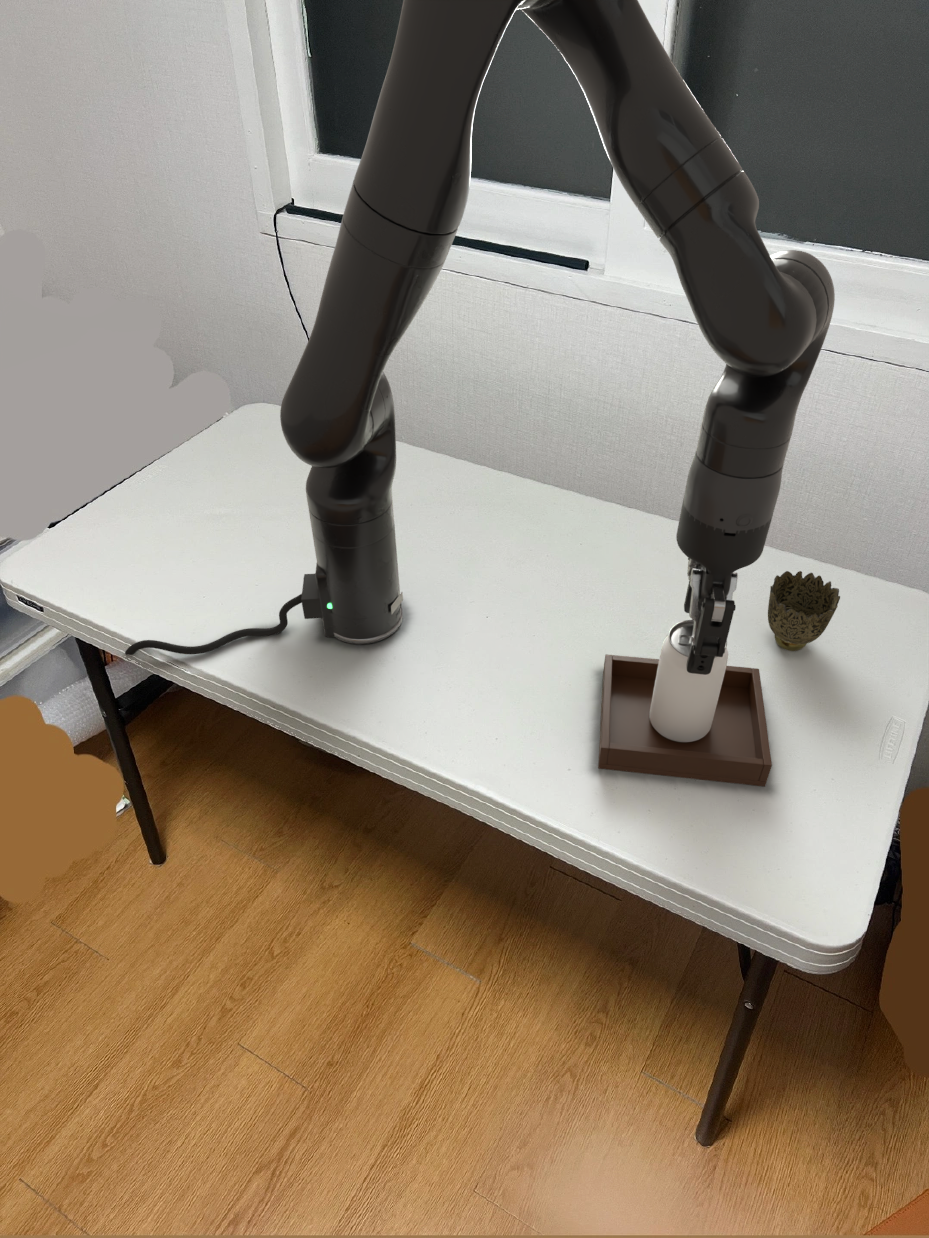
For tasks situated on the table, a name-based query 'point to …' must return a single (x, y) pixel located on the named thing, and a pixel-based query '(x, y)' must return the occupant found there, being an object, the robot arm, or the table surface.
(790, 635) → the cup
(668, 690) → the can
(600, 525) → the table surface
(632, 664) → the tray
